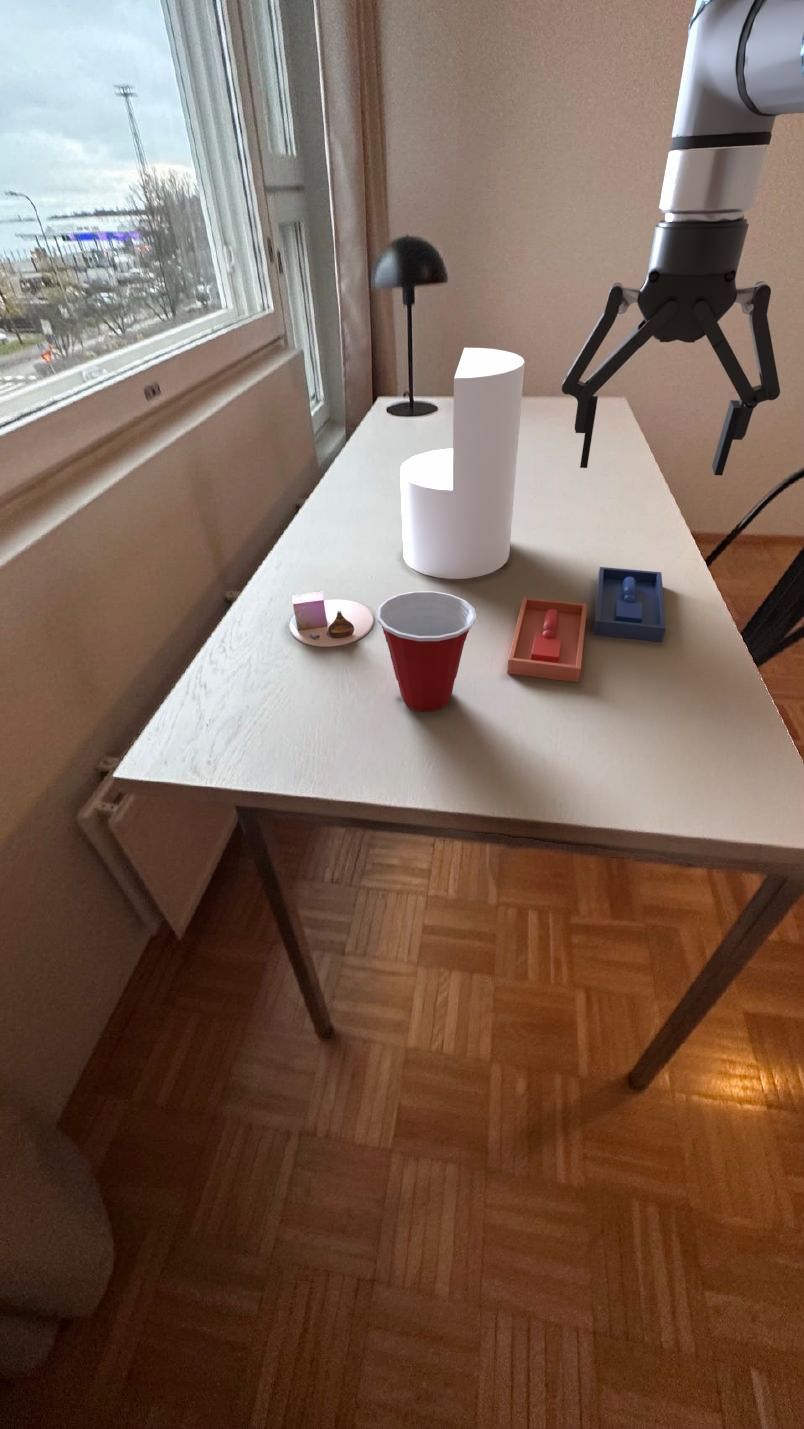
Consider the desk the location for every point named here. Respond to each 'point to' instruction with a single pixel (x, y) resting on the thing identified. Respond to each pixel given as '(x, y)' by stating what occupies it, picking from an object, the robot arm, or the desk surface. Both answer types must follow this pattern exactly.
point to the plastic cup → (425, 644)
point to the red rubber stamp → (547, 640)
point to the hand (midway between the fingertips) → (649, 467)
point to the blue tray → (646, 593)
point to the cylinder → (467, 474)
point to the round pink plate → (328, 620)
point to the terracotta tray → (567, 630)
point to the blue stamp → (629, 604)
